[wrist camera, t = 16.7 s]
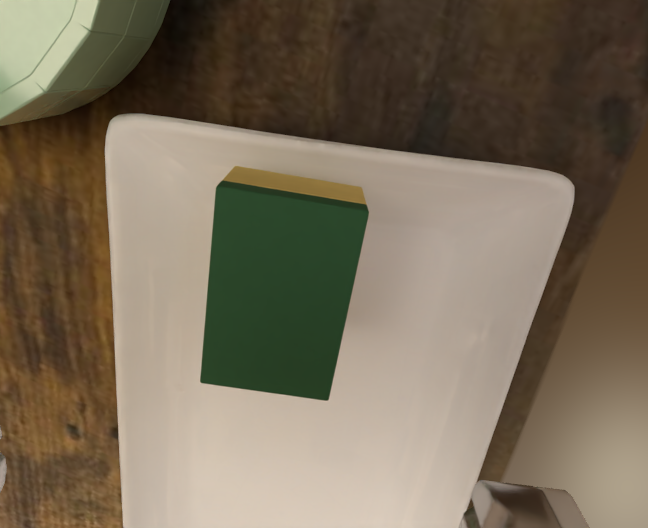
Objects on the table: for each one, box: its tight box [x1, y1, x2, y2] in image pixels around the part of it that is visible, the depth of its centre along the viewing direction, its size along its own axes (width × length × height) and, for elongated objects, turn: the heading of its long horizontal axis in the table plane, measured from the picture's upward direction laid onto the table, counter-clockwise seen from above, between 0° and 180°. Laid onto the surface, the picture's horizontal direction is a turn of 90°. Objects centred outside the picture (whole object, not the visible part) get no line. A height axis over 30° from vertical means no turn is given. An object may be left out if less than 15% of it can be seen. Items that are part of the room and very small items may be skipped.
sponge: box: [200, 166, 369, 401], centre depth 16 cm, size 7×4×3 cm, turn 170°
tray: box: [105, 113, 574, 528], centre depth 24 cm, size 17×31×4 cm, turn 172°
